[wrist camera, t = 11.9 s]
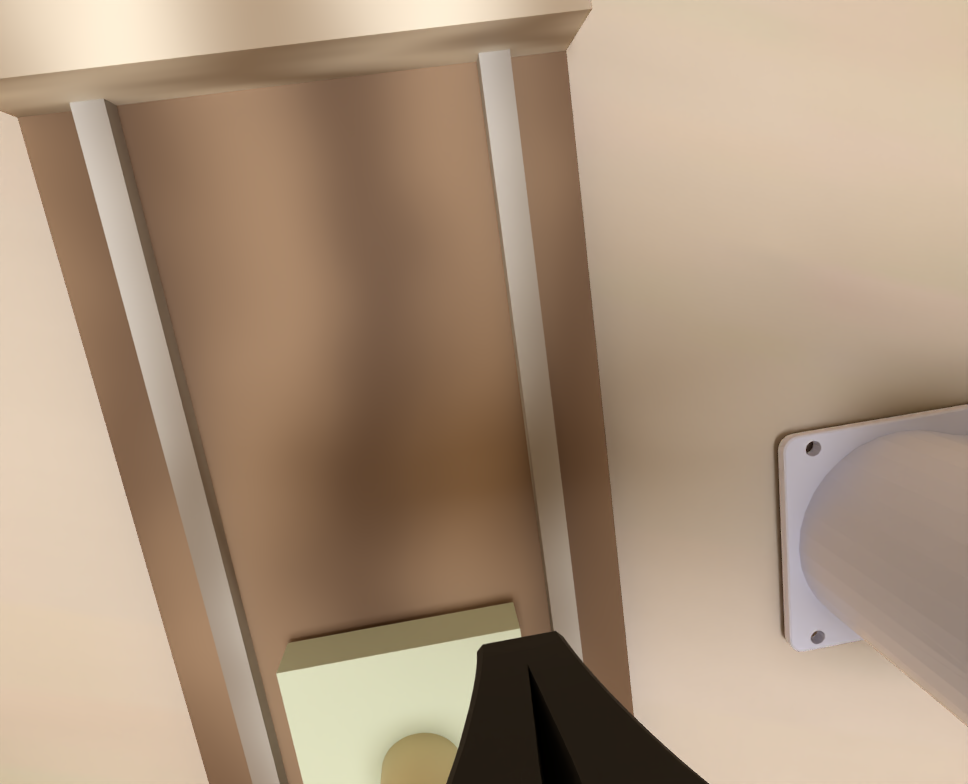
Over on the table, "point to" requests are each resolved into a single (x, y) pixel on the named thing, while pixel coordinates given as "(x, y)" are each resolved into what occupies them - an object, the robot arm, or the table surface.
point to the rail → (329, 322)
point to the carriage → (387, 696)
